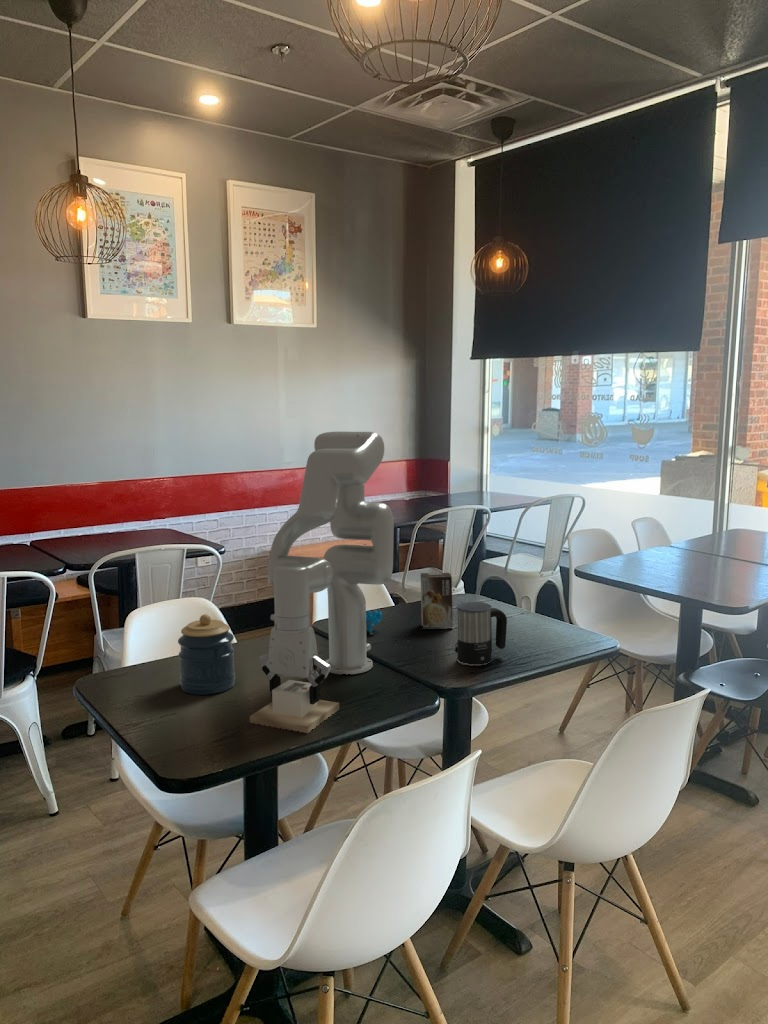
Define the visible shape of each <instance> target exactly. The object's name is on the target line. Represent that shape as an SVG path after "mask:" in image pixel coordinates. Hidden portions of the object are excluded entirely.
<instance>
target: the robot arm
mask: <svg viewBox="0 0 768 1024" xmlns="http://www.w3.org/2000/svg"><path fill="white" fill-rule="evenodd" d="M313 442H314V443H313V444H314V446H313V447H314V451H312V452H311V453H310V454H309V456H307V460H306V464H305V465H306V466H305V471H304V477H303V481H302V487H301V492H300V497H299V498H300V499H299V505H298V508H297V510H296V512H295V513H294V514H293V515H291V516H290V518H288V519H287V520H286V521H285V522H284V524H282V525H281V527H280V528H279V530H278V531H277V533H276V534H275V536H274V538H273V541H272V544H271V548H270V553H269V557H268V563H267V579H268V582H269V584H270V585H271V586H272V587H273V595H274V596H273V598H274V601H273V602H274V613H273V614H272V613H271V615H270V617H269V618H270V620H271V621H273V622H274V626H273V627H272V628H271V632H270V636H269V641H268V653H266V654H264V655H263V654H262V655H261V656H259V657H258V659H257V660H258V662H259V665H260V667H261V670H262V671H263V673H264V674H265V675H266V679H267V680H268V681H269V693H270V699H272V690H273V689H275V688H277V687H278V686H280V685H281V684H282V682H281V680H282V679H281V676H285V677H290V678H291V677H292V678H297V679H307V680H308V683H311V686H310V687H309V697H310V704H312V705H313V704H315V703H316V702H318V701H319V700H321V695H322V693H321V684H322V683H323V682H324V681H325V679H327V677H328V675H329V674H330V673H331V674H333V675H334V674H335V675H342V674H346V675H345V676H347V675H348V674H350V675H357V674H363V673H365V672H369V671H370V670H371V669H372V668H373V666H374V665H373V664H374V663H373V660H372V659H371V658H369V657H367V654H368V653H367V652H368V651H370V650H371V649H372V645H371V644H370V643H368V642H367V629H366V615H367V614H366V612H367V609H366V608H367V607H366V606H367V605H366V604H367V602H366V601H367V600H366V597H365V595H364V592H363V591H362V589H361V587H360V586H359V585H361V584H362V585H385V584H387V583H388V582H390V580H391V578H392V576H393V569H394V537H395V536H394V534H395V533H394V531H395V527H394V525H395V524H394V523H395V522H394V514H393V512H392V509H391V507H390V506H389V505H388V504H386V503H384V502H377V501H376V502H375V501H372V502H371V501H366V500H365V483H367V482H368V481H369V480H370V478H371V477H372V476H373V474H374V473H375V471H377V469H378V468H379V466H380V465H381V463H382V461H383V458H384V456H385V442H384V439H383V438H382V436H381V435H380V434H379V433H378V432H375V431H328V432H327V431H326V432H322V433H320V434H318V435H317V436H316V437H315V439H314V441H313ZM327 524H329V525H330V532H331V534H332V535H333V536H334V537H335V538H338V539H341V540H352V541H353V540H355V541H371V545H360V544H359V545H358V544H337V545H333V546H331V547H329V548H327V549H326V551H325V552H324V555H323V557H316V556H315V557H314V556H313V557H312V556H298V555H297V556H296V555H289V554H290V553H289V552H290V550H291V548H292V546H293V545H294V543H295V542H296V541H297V540H298V539H299V538H301V536H303V535H304V534H306V533H308V532H310V531H312V530H314V529H317V528H319V527H321V526H324V525H327ZM326 589H327V612H328V613H327V615H328V618H327V619H328V656H329V658H328V659H325V660H323V659H322V658H320V657H319V656H318V646H317V640H316V638H317V637H316V634H315V630H314V628H313V626H311V625H312V624H311V594H314V593H319V592H320V593H321V592H322V591H324V590H326ZM318 669H320V670H321V671H320V674H319V672H318ZM348 676H349V675H348Z"/></svg>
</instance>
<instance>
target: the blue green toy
mask: <svg viewBox="0 0 768 1024" xmlns="http://www.w3.org/2000/svg"><path fill="white" fill-rule="evenodd" d="M372 612H373V613H372ZM372 612H371V610H366V628H367V631H368V632H369V631H370V632H372V631H373V628H371V626H373V627H374V626H375V624H380V622H381V620H382V619H383V618H384V617H383V616H382V615H383V613H382V611H378V610H377V609H375V610H373V611H372Z"/></svg>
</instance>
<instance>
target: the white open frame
mask: <svg viewBox="0 0 768 1024" xmlns="http://www.w3.org/2000/svg"><path fill="white" fill-rule="evenodd" d="M295 686H301V688H300V689H298V690H296V691H295V692H291V691H289V690H291V689H292V688H294V687H295ZM310 686H311V683H310V682H308V681H307V682H305V681H300V680H295V679H294V680H293V679H288V680H286V681H285V682H283V683H281V685H280V686H278V687H277V688H275V689H273V690H272V698H271V699H272V701H271V702H272V705H273V713H277V714H283V715H289V716H294V717H300V718H301V717H303V716H304V715H306V714H307V713H308V712H310V711H311V710H313V709H314V708H315V707H317V702H316V703H315V704H313V705H312V704H310V697H309V687H310Z"/></svg>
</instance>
